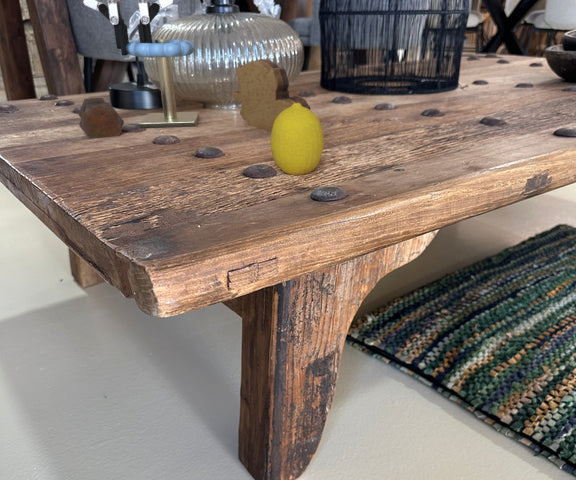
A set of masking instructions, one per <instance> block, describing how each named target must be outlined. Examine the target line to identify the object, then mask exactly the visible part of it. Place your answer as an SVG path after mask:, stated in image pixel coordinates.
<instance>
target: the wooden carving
mask: <svg viewBox="0 0 576 480" xmlns="http://www.w3.org/2000/svg"><path fill="white" fill-rule="evenodd" d="M236 78H237V83H238V86H239V89H238V90H237V91H234V92H233V93H232V96H233V98H234V100H235V101H237V102H238V101H239V102H240V107H241V109H240V111H239V114H240V116H241V118H242V119H243V120H244V121H245V123H247V124H248V125H249V126H251V127H253V128H257V129H260V130H263V131H266V132H269V133H272V128H273V124H274V122H275V119H276V118H277V116H278V115H279V114H280V113H281V112H282V111H284V110H285V109H287V108H289V107H291V106H292V105H293V103H300V104H301V105H302V106H303V107H305V108H308V109H309V110H311V106H310V105H309V103H308V101H307V100H306V99H305V98H304V97H302V96H299V95H293V96H290V91H289V89H288V88H289V87H290V81H289V78H288V74H287V71H286V69H285V67H284V66H282V67H279V66H278V64H277V63H275V62H274V61H272V60H270V59H268V58H261V59H257V60H251V61H248V62H246V63H244V64H240V65H237V68H236ZM311 111H312V110H311Z"/></svg>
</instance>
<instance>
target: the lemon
mask: <svg viewBox="0 0 576 480" xmlns="http://www.w3.org/2000/svg"><path fill="white" fill-rule="evenodd" d="M270 133H271V134H270V152H271V155H272V158H273V161H274V163H275V165H276V166H277V167H278V168H279V169H280V171H282V172H284V173H286V174H288V175H291V176H303V175H306V174H308V173H311V172H312V171H313V170H314V169H315V168H316V167H317V166H318V165H319V163H320V162H321V159H322V157H323V152H324V145H325V140H324V139H325V138H324V131H323V127H322V124H321V121H320V118H319V117H318V116H317V115H316V113H314V111H312V110H309V109H308V108H305V107H303V106H302V105H301V104H300V103H293V105H292V106H291V107H289V108H287V109H285V110H284V111H282V112H281V113H280V114H279V115H278V116H277V118H276V119H275V122H274V124H273V128H272V132H270Z"/></svg>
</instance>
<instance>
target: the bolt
mask: <svg viewBox="0 0 576 480" xmlns="http://www.w3.org/2000/svg"><path fill="white" fill-rule="evenodd" d="M78 117H79V118H80V121H79V124H78V127H79V128H80V129H81V130H82V132H83V133H84V134H85V135H86V136H87V138H88V139H89V140H94V139H104V138H114V137H120V135H121V132H122V130H123V127H124V124H125V121H124V119H123V118H122V117H121V116H120V114H119V113H118V112H117V110H115V108H114V107H113V105H112V104H111V103H110V102H107V101H105V99H104V98H103V97H90V98H89V97H88V98H84V100H83V102H82V104H81V106H80V110H79V112H78Z"/></svg>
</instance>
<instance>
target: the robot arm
mask: <svg viewBox="0 0 576 480" xmlns="http://www.w3.org/2000/svg"><path fill="white" fill-rule="evenodd" d="M82 3H83V4H84V6H86V7H87V8H90V9H92V10H94V11H97V12H99V13H101V14H102V16H104V17H105V18H106V19H107V20H108V21H109V22H110V24H111V25H113V29H114V31H113V32H114V37H115V45H116V49H117V50H120V54H121V56H122V57H123V56H127V55H130V54H129V53H128V52H127V50H126V46H127V44H128V43H129V42H130V38H129V31H128V25H127V24H126V23H125V19H124V18H123V14H122V13H123V12H122V3H121V0H107V3H105V2H102V1H100V0H82ZM174 3H175V0H156V1H154V2H152V3H151V0H137V4H138V11H139V16H140V18H139V24H138V25H137V31H138V38H139V39H138V40H140V43H152V39H153V38H152V27H151V23H153V20H154V19H155V18H156V16H157V15H158V14H159V13H160V12H161V11H162V10H164V9H166V8H168V7H170V6H172V5H174Z"/></svg>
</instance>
